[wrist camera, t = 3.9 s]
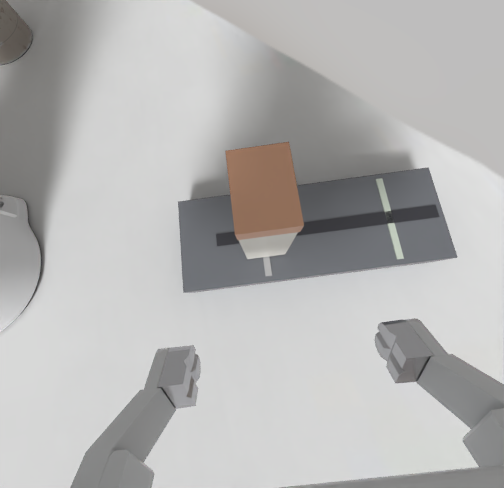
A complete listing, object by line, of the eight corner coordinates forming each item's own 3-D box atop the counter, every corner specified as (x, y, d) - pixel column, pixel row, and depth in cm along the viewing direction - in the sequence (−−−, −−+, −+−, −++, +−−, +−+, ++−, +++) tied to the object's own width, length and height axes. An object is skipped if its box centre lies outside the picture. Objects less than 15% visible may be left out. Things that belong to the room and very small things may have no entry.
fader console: (193, 292, 24) (183, 292, 21) (187, 212, 26) (177, 201, 23) (432, 261, 23) (458, 257, 20) (409, 182, 25) (429, 167, 22)
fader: (247, 260, 21) (234, 234, 11) (241, 211, 22) (225, 150, 12) (285, 255, 21) (304, 225, 11) (277, 207, 22) (289, 141, 12)
